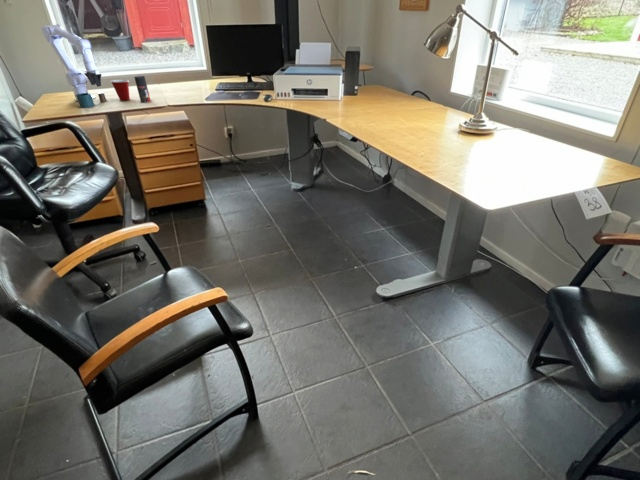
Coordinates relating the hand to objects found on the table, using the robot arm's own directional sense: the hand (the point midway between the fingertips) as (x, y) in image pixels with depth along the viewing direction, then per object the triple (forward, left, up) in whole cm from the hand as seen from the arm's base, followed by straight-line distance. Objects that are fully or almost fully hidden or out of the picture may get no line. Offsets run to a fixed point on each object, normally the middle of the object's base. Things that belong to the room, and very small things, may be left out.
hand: (96, 85), depth 239 cm
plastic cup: (+5, +13, -10) cm, 17 cm away
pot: (+2, -10, -10) cm, 14 cm away
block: (-2, +2, -10) cm, 11 cm away
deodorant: (+22, +18, -11) cm, 30 cm away
